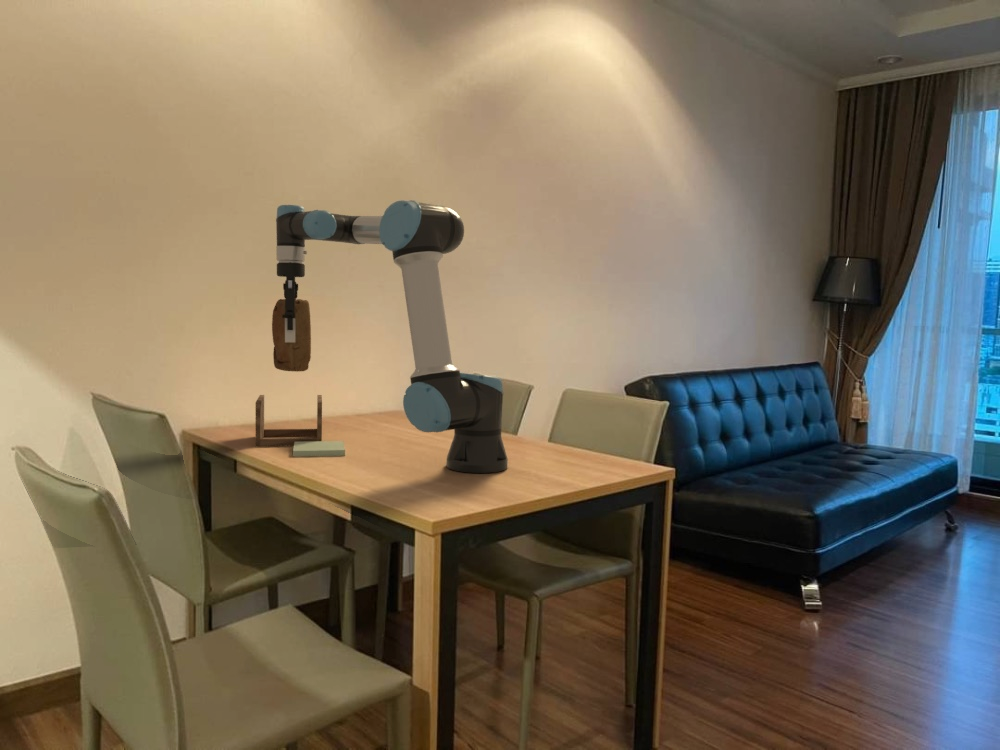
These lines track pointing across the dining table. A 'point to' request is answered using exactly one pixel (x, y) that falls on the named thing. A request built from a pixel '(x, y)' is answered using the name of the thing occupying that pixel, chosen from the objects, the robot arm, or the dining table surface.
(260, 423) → the slot box
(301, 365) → the block
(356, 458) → the dining table surface
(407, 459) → the dining table surface
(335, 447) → the pad
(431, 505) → the dining table surface
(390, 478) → the dining table surface
